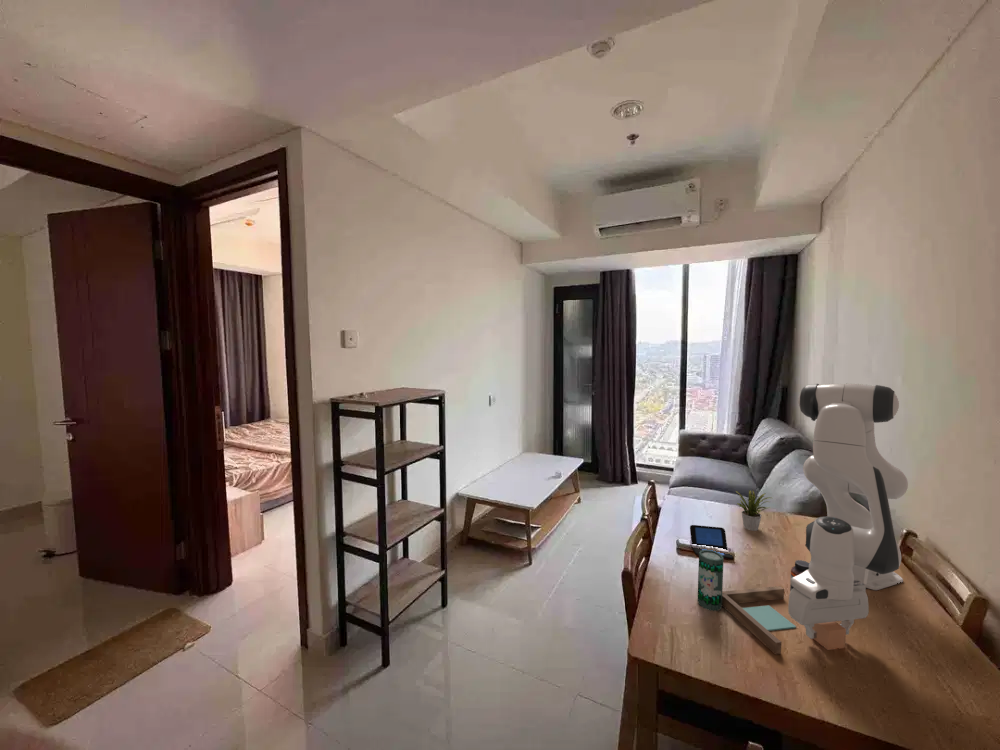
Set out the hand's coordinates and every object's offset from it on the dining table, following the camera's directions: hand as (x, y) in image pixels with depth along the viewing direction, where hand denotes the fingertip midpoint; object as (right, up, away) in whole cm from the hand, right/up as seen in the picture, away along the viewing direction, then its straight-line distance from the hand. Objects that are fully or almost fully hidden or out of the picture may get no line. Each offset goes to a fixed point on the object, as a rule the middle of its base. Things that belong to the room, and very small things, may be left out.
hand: (827, 635), depth 102 cm
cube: (0, -2, 0) cm, 2 cm away
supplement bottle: (+7, -1, +17) cm, 18 cm away
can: (-22, -1, +15) cm, 27 cm away
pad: (-9, -1, +9) cm, 13 cm away
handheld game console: (-5, +1, +46) cm, 47 cm away
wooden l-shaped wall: (-7, -1, +7) cm, 11 cm away
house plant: (+22, +2, +64) cm, 68 cm away
